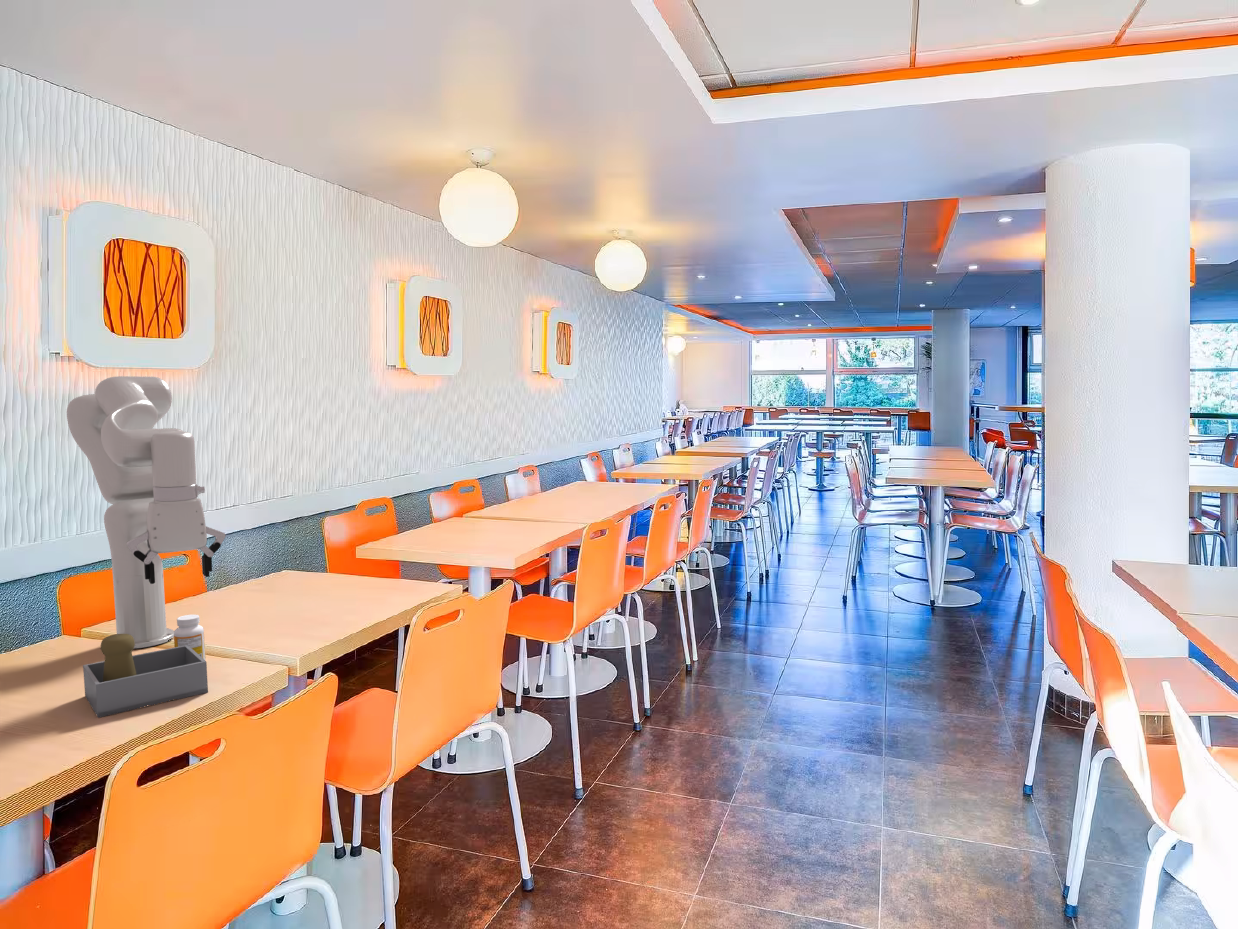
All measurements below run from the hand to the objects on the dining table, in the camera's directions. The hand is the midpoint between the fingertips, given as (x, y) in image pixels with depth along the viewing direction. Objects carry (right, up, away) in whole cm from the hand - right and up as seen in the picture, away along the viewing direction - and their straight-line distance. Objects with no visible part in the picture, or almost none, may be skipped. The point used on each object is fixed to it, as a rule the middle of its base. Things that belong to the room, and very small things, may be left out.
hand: (179, 579), depth 161 cm
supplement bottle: (+1, -18, +3) cm, 18 cm away
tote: (+2, -19, -14) cm, 23 cm away
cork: (-2, -19, -16) cm, 25 cm away
